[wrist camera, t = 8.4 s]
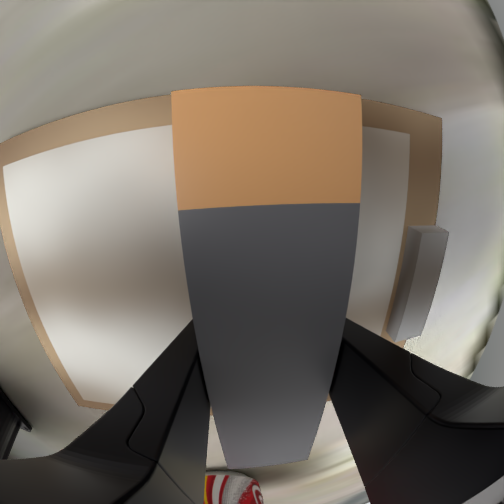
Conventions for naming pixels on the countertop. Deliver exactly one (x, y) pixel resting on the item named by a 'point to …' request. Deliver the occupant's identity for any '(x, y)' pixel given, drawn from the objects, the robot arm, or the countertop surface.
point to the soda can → (231, 488)
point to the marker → (267, 254)
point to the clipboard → (169, 239)
